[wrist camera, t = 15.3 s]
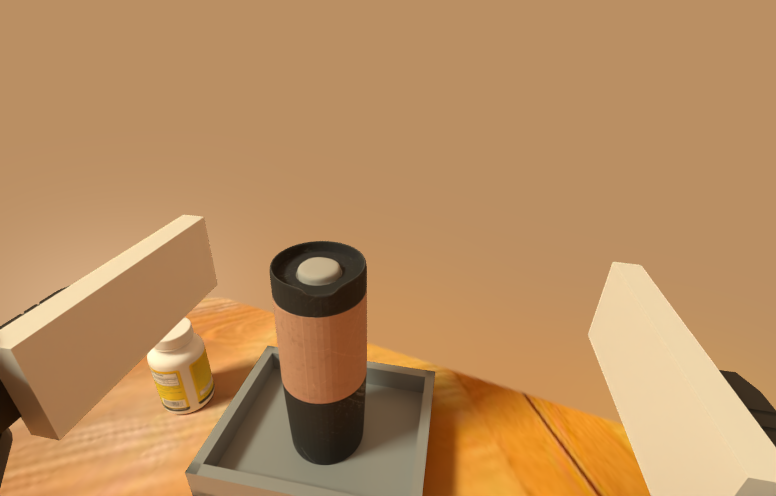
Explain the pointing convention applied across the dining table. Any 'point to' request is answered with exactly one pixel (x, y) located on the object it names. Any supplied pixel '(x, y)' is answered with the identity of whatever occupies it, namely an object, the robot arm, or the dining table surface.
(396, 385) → the tray
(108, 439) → the dining table surface
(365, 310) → the travel mug
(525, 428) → the dining table surface
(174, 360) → the supplement bottle
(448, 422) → the dining table surface
